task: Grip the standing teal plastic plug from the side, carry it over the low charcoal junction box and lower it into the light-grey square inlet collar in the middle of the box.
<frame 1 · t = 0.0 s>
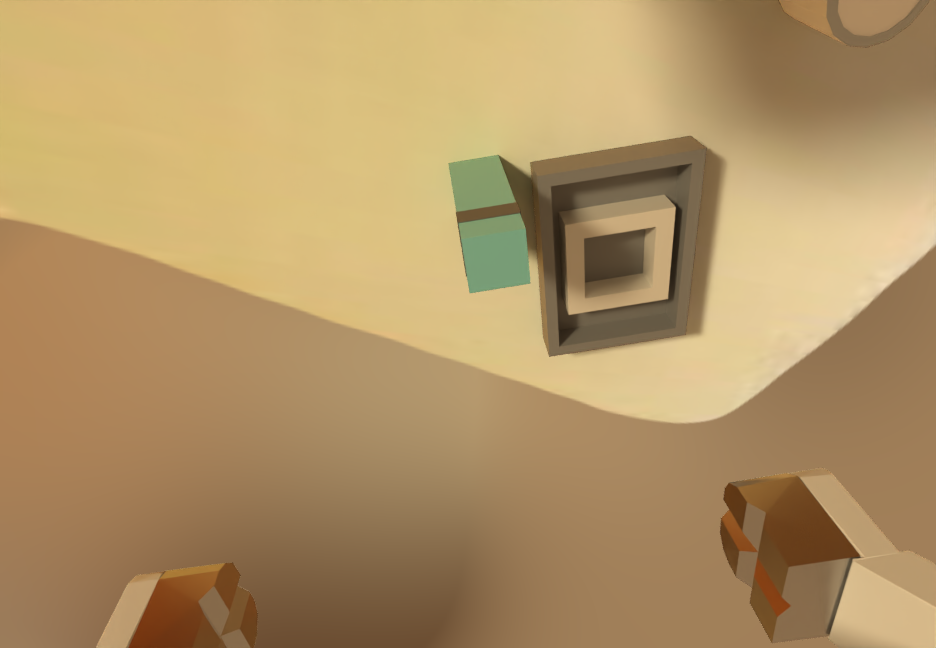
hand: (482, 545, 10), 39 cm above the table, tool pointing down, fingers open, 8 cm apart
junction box: (609, 247, 51), on the table
plug: (476, 182, 47), on the table
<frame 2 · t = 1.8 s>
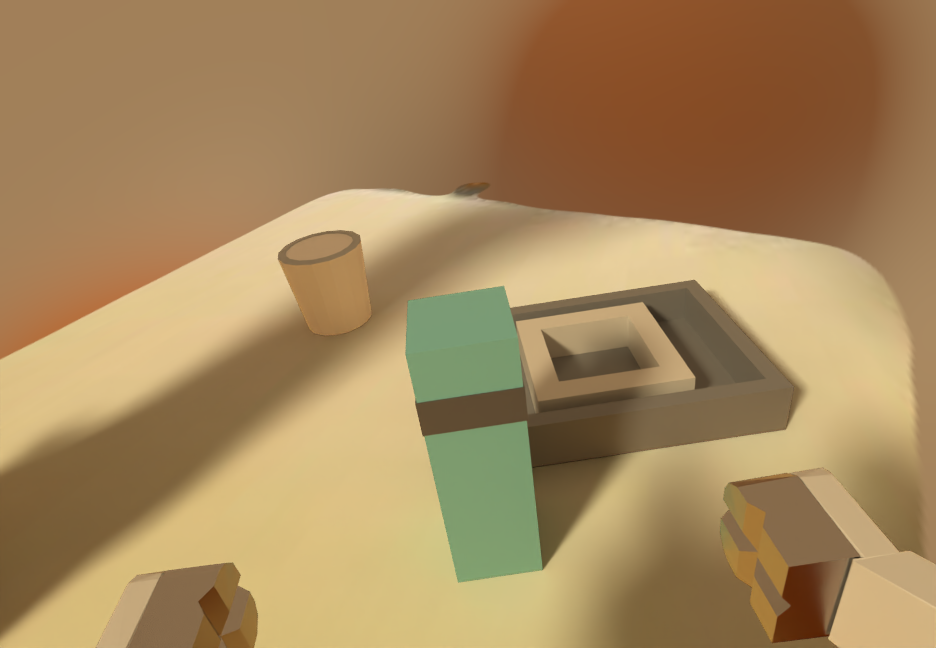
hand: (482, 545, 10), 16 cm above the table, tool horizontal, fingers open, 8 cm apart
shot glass: (340, 320, 51), on the table
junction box: (596, 384, 38), on the table
plug: (495, 540, 29), on the table
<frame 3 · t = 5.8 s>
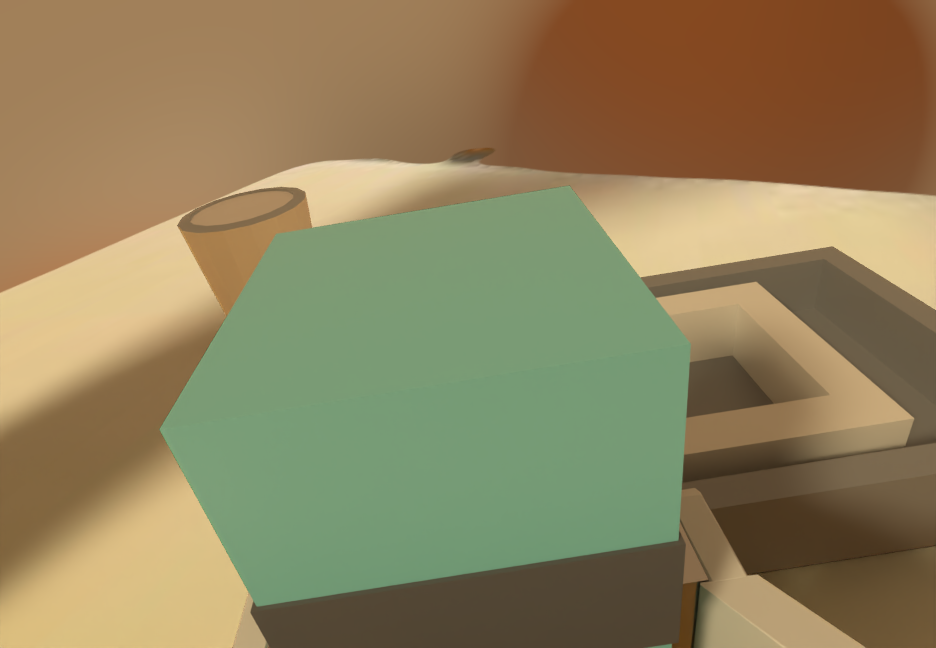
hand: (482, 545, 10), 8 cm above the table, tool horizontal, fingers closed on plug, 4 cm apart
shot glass: (282, 319, 35), on the table
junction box: (690, 421, 22), on the table
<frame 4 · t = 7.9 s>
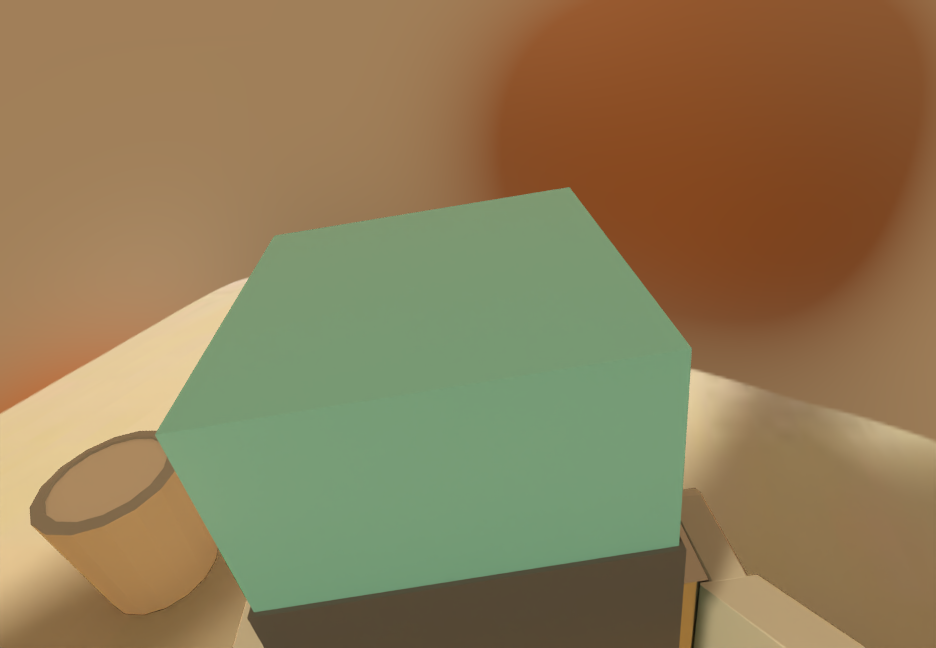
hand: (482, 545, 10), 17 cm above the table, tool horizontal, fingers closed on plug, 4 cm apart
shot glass: (167, 568, 32), on the table
when the fingers open (9 cm above the table, at t = 10.3 s): plug stays where it is, resting on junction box.
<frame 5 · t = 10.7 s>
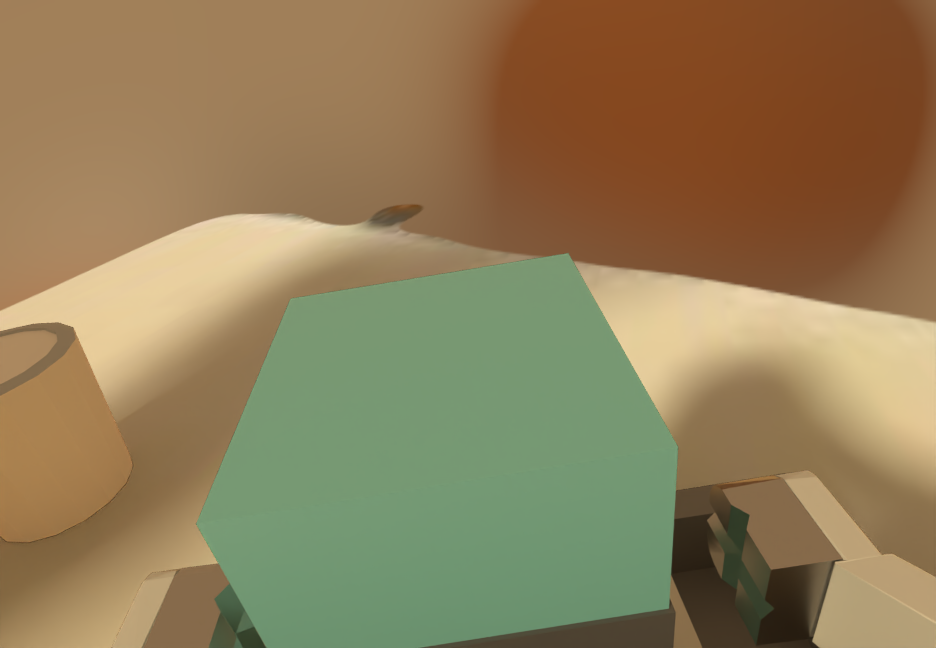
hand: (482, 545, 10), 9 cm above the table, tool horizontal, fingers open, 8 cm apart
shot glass: (68, 493, 26), on the table
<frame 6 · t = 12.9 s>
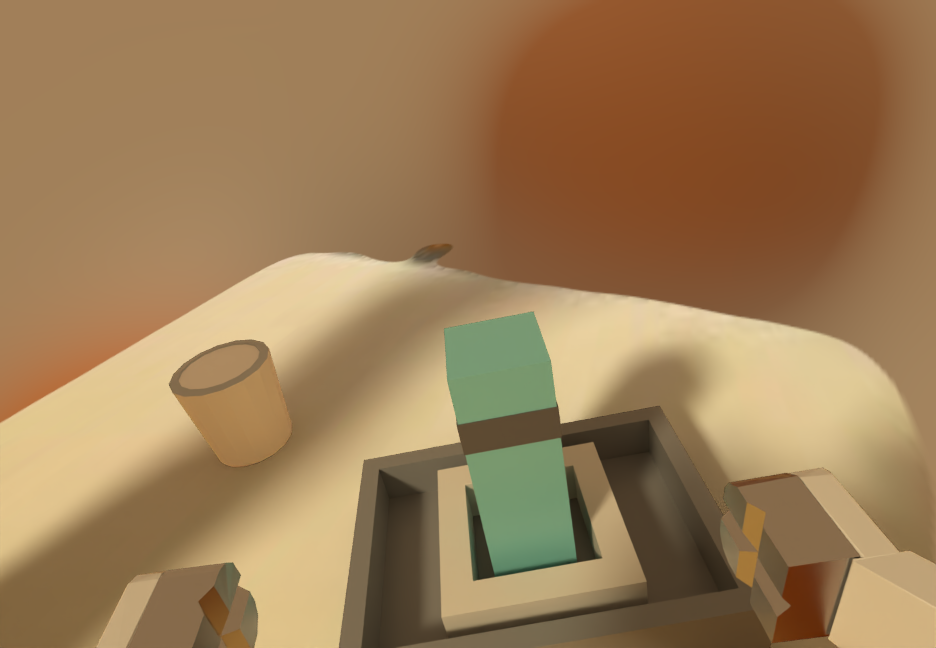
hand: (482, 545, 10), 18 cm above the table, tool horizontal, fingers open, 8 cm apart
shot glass: (256, 442, 43), on the table
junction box: (534, 557, 30), on the table
plug: (532, 552, 30), resting on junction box
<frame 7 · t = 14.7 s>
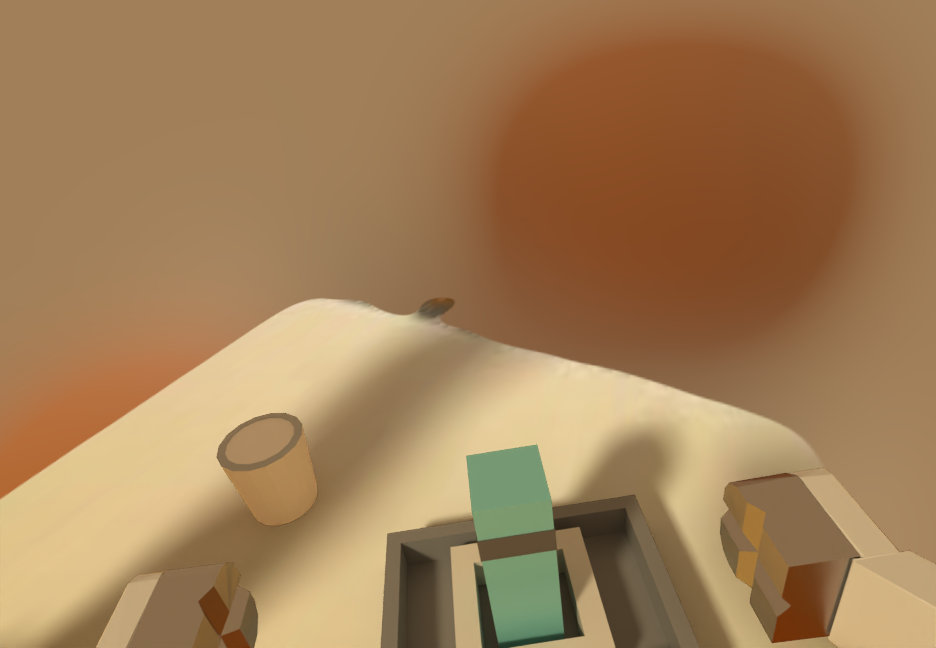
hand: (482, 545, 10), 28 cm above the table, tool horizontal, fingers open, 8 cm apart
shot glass: (286, 501, 50), on the table
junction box: (529, 624, 37), on the table
plug: (527, 621, 37), resting on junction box
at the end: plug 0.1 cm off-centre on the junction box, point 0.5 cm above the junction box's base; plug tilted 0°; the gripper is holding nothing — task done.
